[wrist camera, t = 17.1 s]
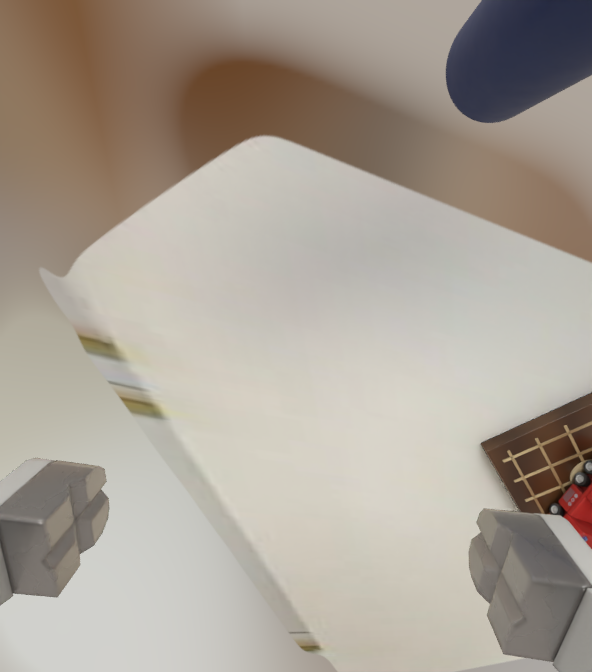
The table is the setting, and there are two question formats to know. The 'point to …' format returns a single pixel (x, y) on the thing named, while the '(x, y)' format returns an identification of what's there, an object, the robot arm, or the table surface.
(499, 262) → the table surface
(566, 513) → the toy fire truck
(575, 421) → the board
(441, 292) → the table surface
